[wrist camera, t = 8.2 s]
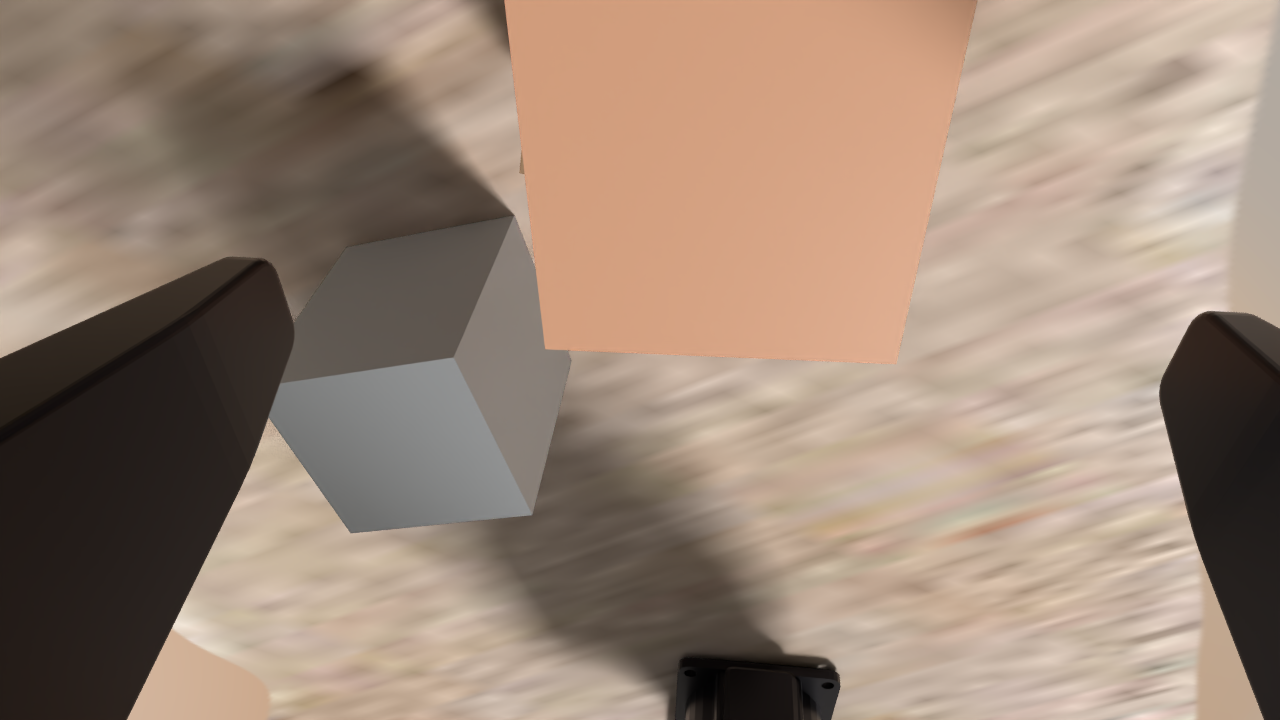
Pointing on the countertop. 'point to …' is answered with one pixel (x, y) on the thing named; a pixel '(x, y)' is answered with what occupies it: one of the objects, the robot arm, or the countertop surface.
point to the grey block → (425, 380)
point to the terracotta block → (732, 169)
